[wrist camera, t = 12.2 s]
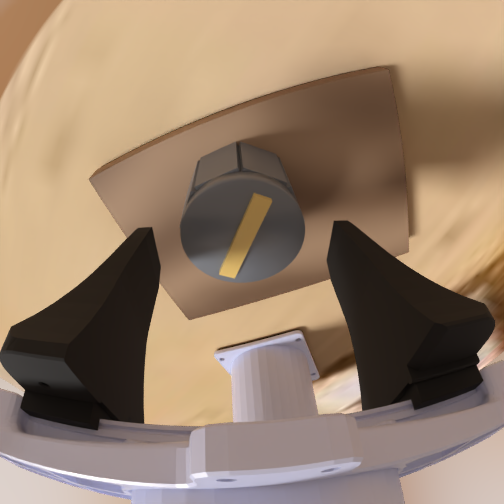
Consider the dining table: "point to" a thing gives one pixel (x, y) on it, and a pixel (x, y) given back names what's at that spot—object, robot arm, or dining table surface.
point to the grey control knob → (241, 215)
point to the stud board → (298, 172)
